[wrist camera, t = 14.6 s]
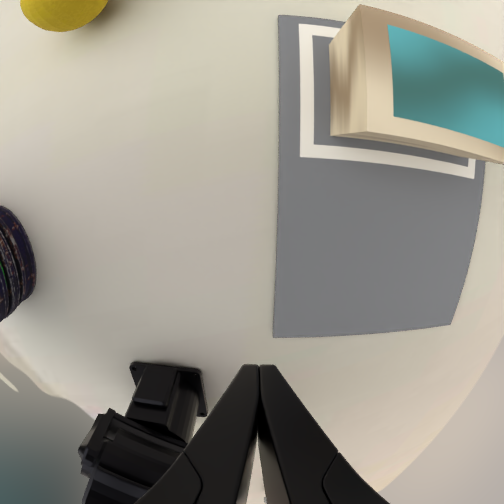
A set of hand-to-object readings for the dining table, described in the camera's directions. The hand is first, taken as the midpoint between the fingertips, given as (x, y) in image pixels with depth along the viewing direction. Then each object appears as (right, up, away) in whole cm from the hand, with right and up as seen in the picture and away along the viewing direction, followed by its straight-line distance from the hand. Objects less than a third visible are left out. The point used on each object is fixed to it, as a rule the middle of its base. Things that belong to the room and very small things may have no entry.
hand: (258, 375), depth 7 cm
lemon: (-12, +21, +5) cm, 24 cm away
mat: (+9, +7, +9) cm, 15 cm away
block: (+9, +11, +1) cm, 14 cm away
